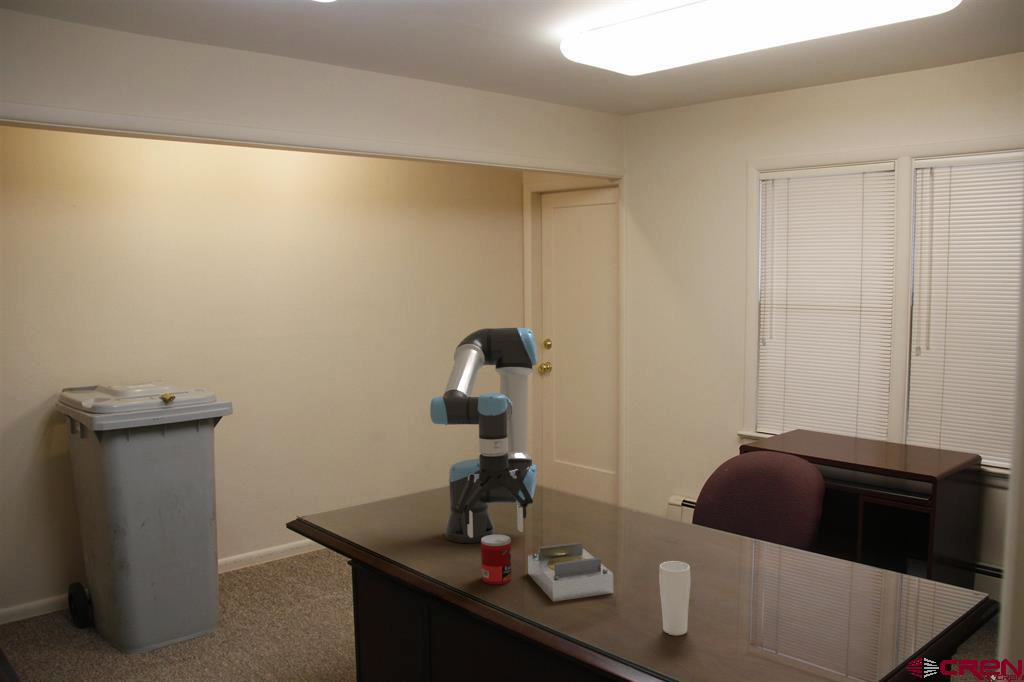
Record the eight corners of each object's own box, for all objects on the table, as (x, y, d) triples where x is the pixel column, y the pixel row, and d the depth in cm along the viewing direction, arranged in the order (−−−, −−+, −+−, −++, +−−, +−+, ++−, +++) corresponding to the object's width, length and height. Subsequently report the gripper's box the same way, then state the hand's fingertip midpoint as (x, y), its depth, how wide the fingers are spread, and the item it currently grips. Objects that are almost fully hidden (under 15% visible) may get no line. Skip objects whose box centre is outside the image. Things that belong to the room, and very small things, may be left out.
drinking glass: (656, 625, 187) (655, 561, 186) (685, 624, 188) (685, 559, 187) (664, 638, 181) (663, 572, 179) (694, 637, 181) (694, 570, 180)
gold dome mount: (528, 573, 222) (527, 544, 221) (583, 566, 226) (583, 537, 226) (553, 601, 203) (552, 569, 202) (613, 592, 207) (612, 561, 206)
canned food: (508, 585, 214) (507, 544, 213) (478, 584, 215) (477, 542, 214) (514, 575, 221) (513, 534, 220) (485, 573, 223) (484, 533, 222)
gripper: (449, 460, 208) (452, 542, 210) (543, 452, 215) (545, 532, 217) (443, 454, 215) (445, 534, 217) (534, 446, 222) (536, 524, 224)
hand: (495, 533), depth 217 cm, fingers open, 13 cm apart
